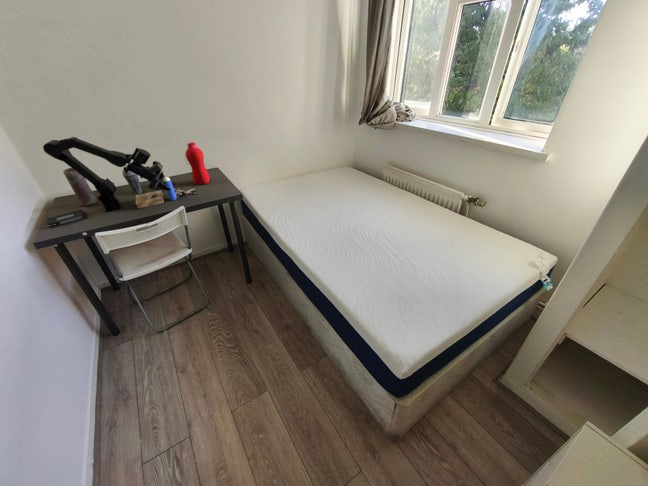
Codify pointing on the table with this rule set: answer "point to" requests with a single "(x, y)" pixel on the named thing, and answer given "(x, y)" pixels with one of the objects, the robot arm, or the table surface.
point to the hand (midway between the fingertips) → (171, 186)
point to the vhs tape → (65, 218)
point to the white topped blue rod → (170, 193)
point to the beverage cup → (132, 181)
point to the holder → (149, 199)
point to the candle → (80, 187)
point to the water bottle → (197, 164)
